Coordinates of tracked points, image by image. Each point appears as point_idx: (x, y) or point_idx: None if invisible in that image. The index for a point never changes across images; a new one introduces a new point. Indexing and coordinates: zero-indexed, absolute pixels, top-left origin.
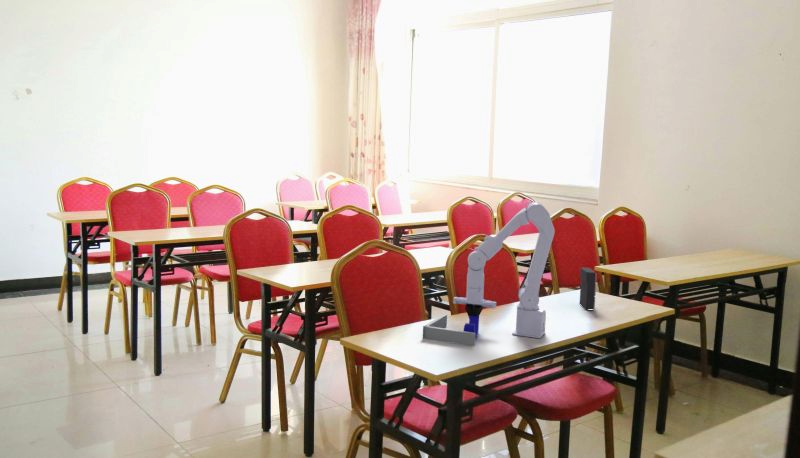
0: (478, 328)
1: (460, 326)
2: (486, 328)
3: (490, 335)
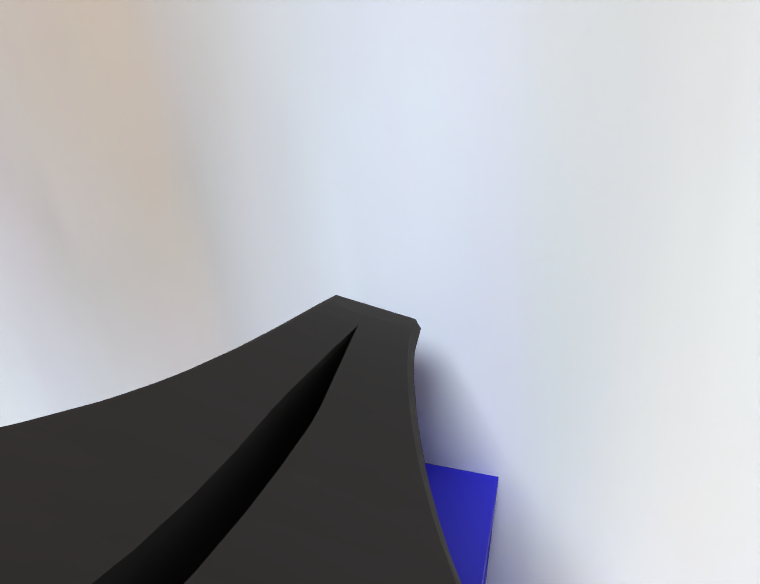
0: (484, 566)
1: (83, 46)
2: (706, 36)
3: (734, 569)
